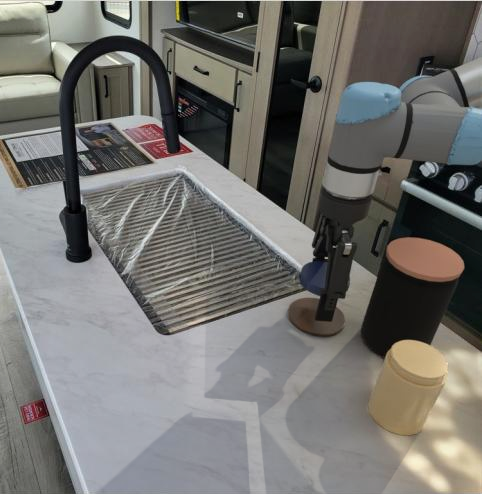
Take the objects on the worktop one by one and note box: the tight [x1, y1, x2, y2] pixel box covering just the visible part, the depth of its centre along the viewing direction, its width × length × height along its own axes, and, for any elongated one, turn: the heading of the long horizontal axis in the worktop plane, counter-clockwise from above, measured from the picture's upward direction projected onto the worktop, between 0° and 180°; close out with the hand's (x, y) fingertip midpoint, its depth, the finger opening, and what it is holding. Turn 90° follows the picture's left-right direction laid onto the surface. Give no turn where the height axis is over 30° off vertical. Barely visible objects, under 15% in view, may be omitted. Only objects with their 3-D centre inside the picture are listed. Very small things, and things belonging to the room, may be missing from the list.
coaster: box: [287, 297, 346, 338], centre depth 87 cm, size 10×10×1 cm
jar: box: [367, 340, 449, 436], centre depth 67 cm, size 8×8×12 cm
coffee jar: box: [360, 236, 465, 358], centre depth 77 cm, size 11×11×18 cm
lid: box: [298, 261, 351, 297], centre depth 82 cm, size 8×8×2 cm
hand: (318, 303), depth 85 cm, fingers closed on lid, 8 cm apart
